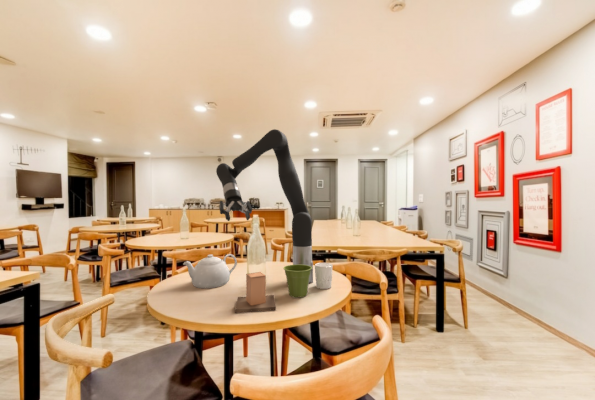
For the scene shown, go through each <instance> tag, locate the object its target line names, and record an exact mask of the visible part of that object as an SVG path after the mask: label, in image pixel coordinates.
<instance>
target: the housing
mask: <svg viewBox="0 0 595 400" xmlns="http://www.w3.org/2000/svg"><path fill="white" fill-rule="evenodd" d="M245 276H246V280H245V282H246V285H245V286H246V287H245V291H246V293H245V294H246V296H245V297H246V301H247V302H248V303H249V304H250V305H251V306H252V305H257V304H262V303H266V295H267V294H266V292H267V289H266V287H267V286H266V285H267V284H266V283H267V279H266V278H267V277H266V274H264V273H263V272H262V271H258V272H249V273H246V275H245Z"/></svg>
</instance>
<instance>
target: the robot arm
mask: <svg viewBox="0 0 595 400" xmlns="http://www.w3.org/2000/svg"><path fill="white" fill-rule="evenodd" d="M288 141H289V140H288V138H287V135H285V134H284V132H282V131H281V130H279V129H275V128H274V129H271V130H269V131H268V132H267V133H266V134H264V135H263V136H262V137H261V139H259V140H258V141H257V142H256V143H255V144H254V145H252V146H251V147H250V148H248V150H246V151H244V152H243V153H241V154H239V155H238V156H237V157H235V158H234V159H233V160H232V166H233V167H231V166H229V164H227V163H225V162H224V163H220V164H218V165H217V167H216V169H215V170H216V171H215V172H216V175H217V177H218V180H219V181H220V183H221V185H222V191H223V197H224V200H225V202H224V201H222V200H220V201H219V204H218V205H219V207H218V208H219V214H221V215H224V217H225V220H226V221H228V222H230V220H231V216H230V212H231V211H232V212H241V213H243V214H244V216H245V219H246V221H249V219H250V218H251V214H252V211H253V207H252V205H251V203H250V201H249V200H247V201H246V202H244V200H243V199H242V196H241V191H240V188H239V185H238V183H237V180H236V178H238V176H239V175H240V174H241V172H242V171H245V169H247V168H249V167H250V166H252V165H253V164H254V163H255V162H256V161H257V160H258V159H259V158H260V157H261V156H262V155H263V154H265V153H266V152H268V151H271V150H273V152H274V155H275V158H276V160H277V171H278V174H277V175H278V179H279V183H280V187H281V189H282V191H283V193H284V195H285V198H286V199H287V201H288V204H289V205H290V208H291V213H292V221H291V234H292V235H291V240H292V265H308V266H311V267H312V269H311V271H310V275H309V282H308V284H310V283H314V263H313V245H312V244H313V240H312V239H313V238H312V236H313V235H312V225H313V224H312V223H313V220H312V216H311V215H310V213H309V210H308V208H307V205H306V201H305V198H304V194H303V190H302V184H301V182H300V178H299V176H298V172H297V170H296V167H295V164H294V162H293V158H292V156H291V151H290V146H289V142H288ZM224 207H226V209H224Z"/></svg>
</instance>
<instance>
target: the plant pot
mask: <svg viewBox="0 0 595 400" xmlns="http://www.w3.org/2000/svg"><path fill="white" fill-rule="evenodd" d="M282 268H283V270H284V273H285V277H286V283H287V289H288V294H289V296H290V297H291V298H295V299H296V298H305V297H306V296H307V294H308V287H309V283H308V282H309V275H310V271H311V269H312V267H311V266H308V265H293V264H289V265H284V267H282Z"/></svg>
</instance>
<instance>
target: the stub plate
mask: <svg viewBox="0 0 595 400" xmlns="http://www.w3.org/2000/svg"><path fill="white" fill-rule="evenodd" d="M276 307H277V305H276V300H275V295H274V294H268V295H267V294H266V303H262V304H257V305H252V306H251V305H250V304H249V303H248V302H247V301H246V296H237V299H236V303H235V308H234V314H238V313H239V314H240V313H254V312H270V311H276V310H277V308H276Z"/></svg>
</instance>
